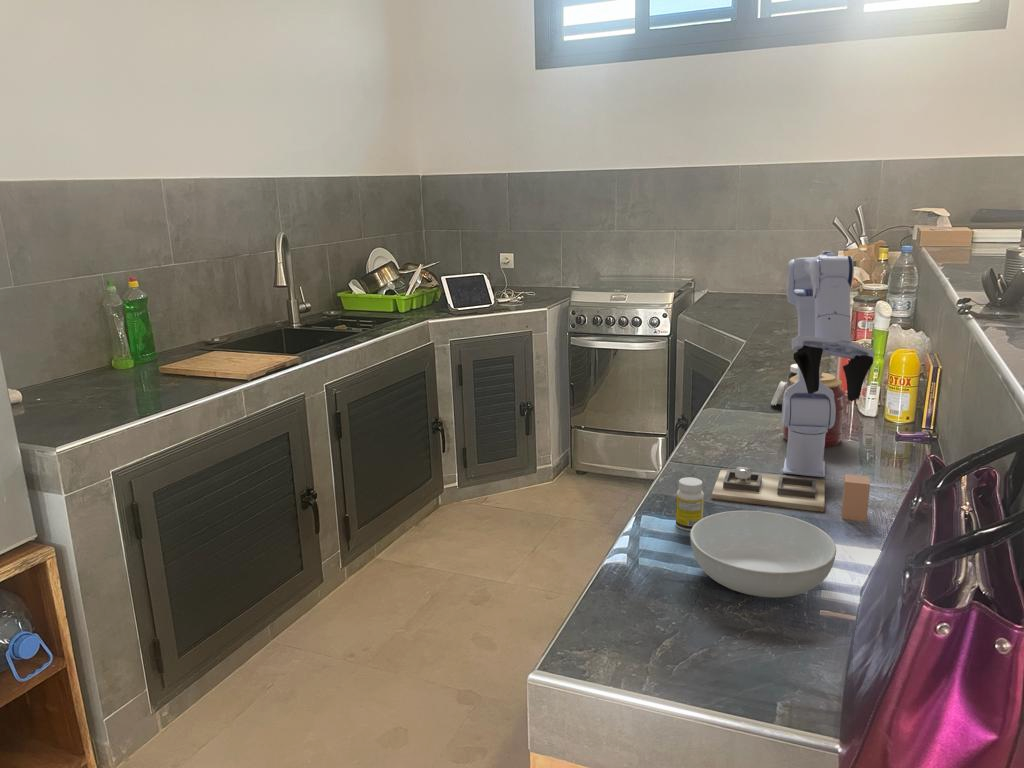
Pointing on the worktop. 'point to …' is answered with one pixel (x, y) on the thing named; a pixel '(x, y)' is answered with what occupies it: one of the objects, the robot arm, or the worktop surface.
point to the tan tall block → (855, 497)
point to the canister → (834, 384)
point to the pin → (743, 475)
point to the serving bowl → (762, 552)
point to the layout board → (772, 491)
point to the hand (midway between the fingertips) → (833, 395)
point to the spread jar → (782, 384)
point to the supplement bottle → (689, 503)
